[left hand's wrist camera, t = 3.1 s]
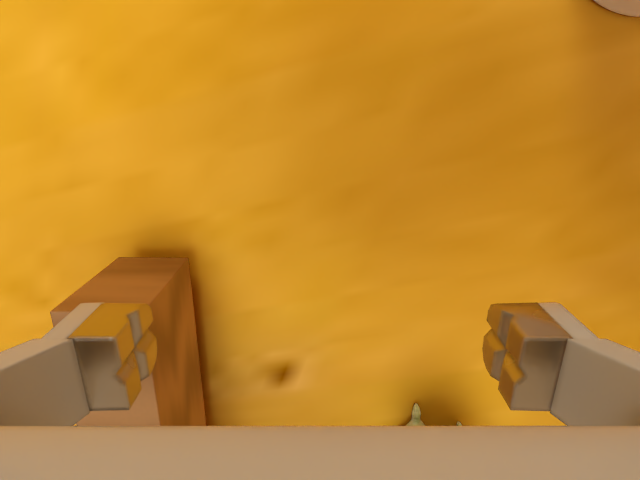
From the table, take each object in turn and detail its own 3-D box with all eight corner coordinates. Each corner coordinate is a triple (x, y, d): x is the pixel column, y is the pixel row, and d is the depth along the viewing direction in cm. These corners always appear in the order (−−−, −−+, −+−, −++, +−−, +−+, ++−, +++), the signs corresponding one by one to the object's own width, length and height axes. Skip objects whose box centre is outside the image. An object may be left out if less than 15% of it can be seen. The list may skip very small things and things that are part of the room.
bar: (118, 256, 35) (49, 311, 26) (188, 257, 35) (143, 312, 26) (154, 474, 42) (110, 572, 34) (211, 475, 42) (182, 573, 34)
